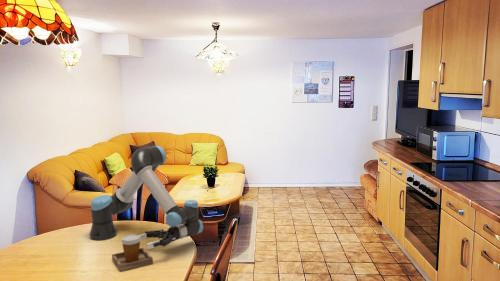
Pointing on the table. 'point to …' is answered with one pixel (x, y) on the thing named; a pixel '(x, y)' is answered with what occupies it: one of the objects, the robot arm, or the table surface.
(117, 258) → the walnut tray
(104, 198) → the robot arm
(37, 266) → the table surface
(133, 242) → the disposable coffee cup
